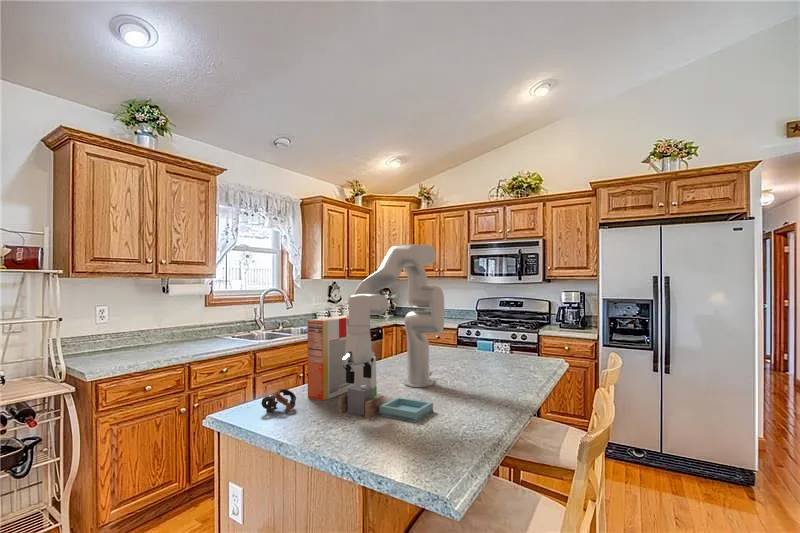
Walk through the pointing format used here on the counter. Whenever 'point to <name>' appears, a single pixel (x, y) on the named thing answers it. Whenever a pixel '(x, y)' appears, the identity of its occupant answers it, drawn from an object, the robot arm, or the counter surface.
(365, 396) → the grey rectangular block
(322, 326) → the cereal box
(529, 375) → the counter surface
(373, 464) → the counter surface
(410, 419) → the tray
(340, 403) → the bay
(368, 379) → the skincare box
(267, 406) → the brown looped piece
